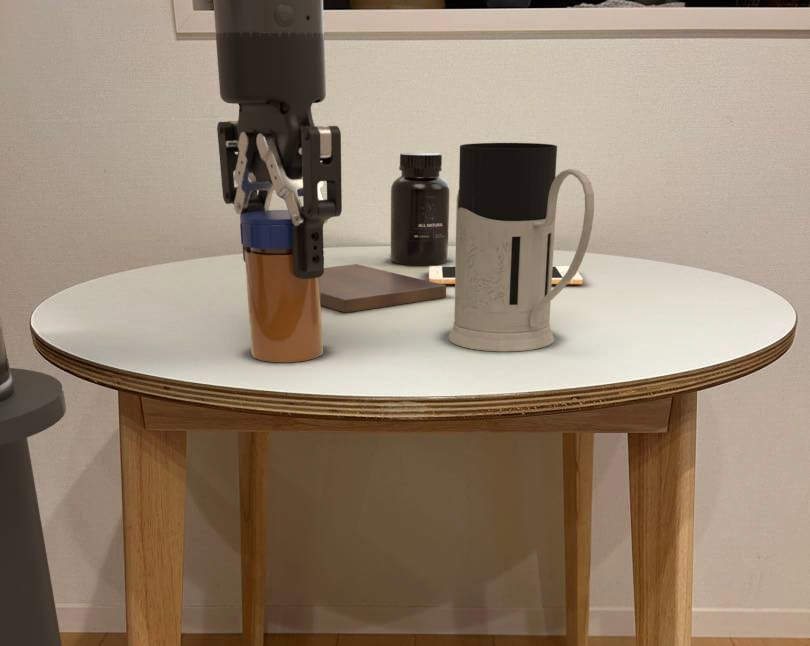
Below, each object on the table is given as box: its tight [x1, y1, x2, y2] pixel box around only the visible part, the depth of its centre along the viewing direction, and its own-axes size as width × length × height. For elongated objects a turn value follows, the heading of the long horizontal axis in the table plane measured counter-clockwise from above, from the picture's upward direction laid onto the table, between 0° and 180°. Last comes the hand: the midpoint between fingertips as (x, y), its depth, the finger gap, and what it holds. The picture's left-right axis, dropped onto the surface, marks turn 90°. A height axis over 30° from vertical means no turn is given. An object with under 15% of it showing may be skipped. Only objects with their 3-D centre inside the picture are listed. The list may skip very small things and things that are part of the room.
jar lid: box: [239, 209, 294, 249], centre depth 76 cm, size 6×6×2 cm
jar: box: [244, 248, 324, 363], centre depth 78 cm, size 6×6×10 cm
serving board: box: [320, 263, 447, 314], centre depth 102 cm, size 12×16×1 cm
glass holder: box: [448, 142, 595, 352], centre depth 79 cm, size 9×14×15 cm, turn 33°
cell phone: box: [428, 265, 584, 285], centre depth 109 cm, size 8×16×1 cm, turn 89°
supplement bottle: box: [390, 152, 451, 266], centre depth 117 cm, size 7×7×12 cm
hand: (282, 270), depth 77 cm, fingers open, 7 cm apart
